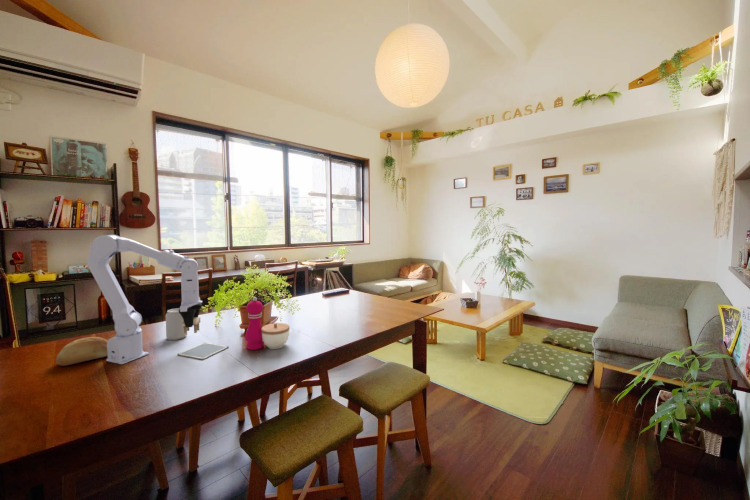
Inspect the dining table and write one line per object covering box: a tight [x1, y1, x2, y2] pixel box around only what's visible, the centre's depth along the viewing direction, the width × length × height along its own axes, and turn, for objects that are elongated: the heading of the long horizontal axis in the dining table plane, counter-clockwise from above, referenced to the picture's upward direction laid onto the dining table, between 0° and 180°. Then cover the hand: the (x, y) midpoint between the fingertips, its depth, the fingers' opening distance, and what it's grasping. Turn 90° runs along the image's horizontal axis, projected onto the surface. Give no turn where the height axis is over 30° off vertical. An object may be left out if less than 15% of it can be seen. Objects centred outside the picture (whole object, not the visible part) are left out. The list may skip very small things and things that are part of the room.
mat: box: [177, 342, 229, 361], centre depth 119 cm, size 12×12×1 cm
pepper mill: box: [244, 296, 265, 351], centre depth 124 cm, size 7×7×20 cm
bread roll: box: [55, 336, 109, 367], centre depth 110 cm, size 10×15×8 cm, turn 136°
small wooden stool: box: [182, 316, 201, 334], centre depth 121 cm, size 5×4×5 cm
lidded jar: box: [261, 322, 290, 350], centre depth 125 cm, size 11×11×9 cm
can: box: [164, 307, 188, 341], centre depth 132 cm, size 8×8×12 cm
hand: (191, 325), depth 121 cm, fingers closed on small wooden stool, 4 cm apart
